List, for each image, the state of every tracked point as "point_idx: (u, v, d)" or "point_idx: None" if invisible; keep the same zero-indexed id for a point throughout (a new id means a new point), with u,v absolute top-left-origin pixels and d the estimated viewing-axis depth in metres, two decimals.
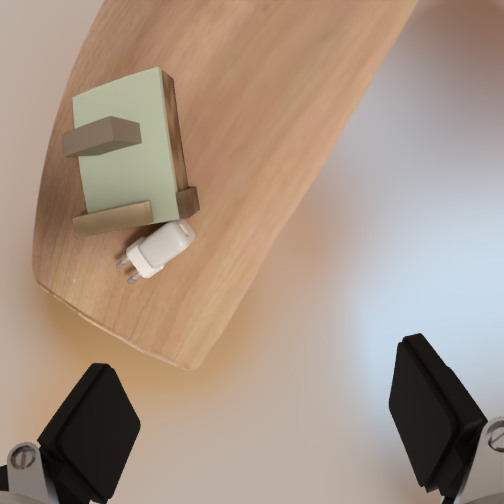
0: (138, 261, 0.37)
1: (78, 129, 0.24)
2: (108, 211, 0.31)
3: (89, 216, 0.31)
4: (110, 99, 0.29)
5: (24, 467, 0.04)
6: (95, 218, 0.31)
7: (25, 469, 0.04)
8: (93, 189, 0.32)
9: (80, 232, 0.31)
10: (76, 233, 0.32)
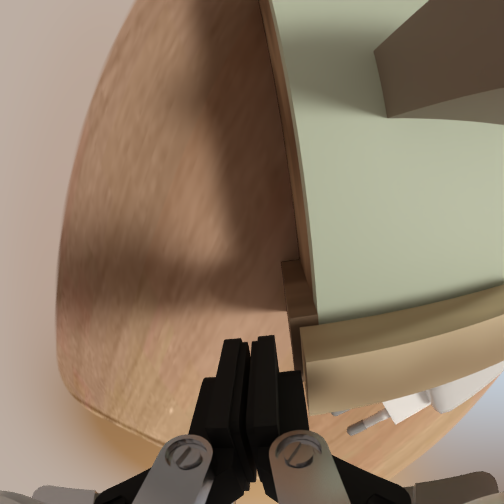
0: (400, 401, 0.14)
1: None
2: (465, 330, 0.08)
3: (394, 352, 0.08)
4: None
5: (180, 466, 0.05)
6: (413, 357, 0.08)
7: (179, 470, 0.05)
8: (358, 240, 0.09)
9: (337, 401, 0.09)
10: (314, 404, 0.09)
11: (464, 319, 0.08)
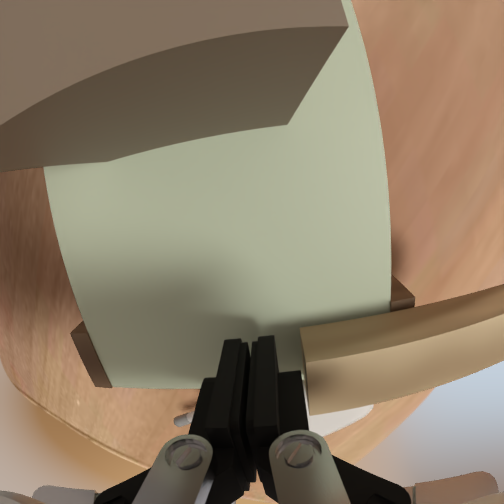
0: None
1: None
2: (465, 330, 0.08)
3: (394, 352, 0.08)
4: None
5: (180, 466, 0.05)
6: (413, 357, 0.08)
7: (179, 470, 0.05)
8: (98, 274, 0.10)
9: (336, 401, 0.09)
10: (315, 404, 0.09)
11: (464, 319, 0.08)
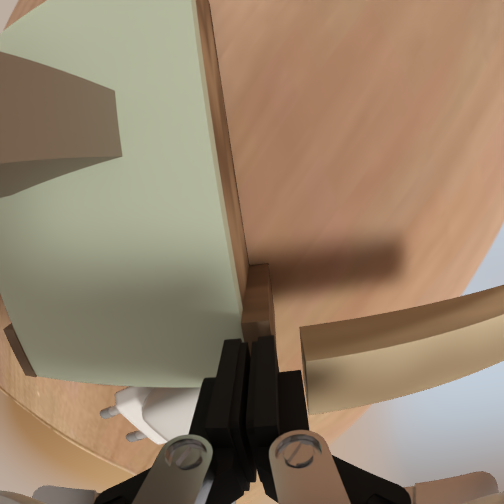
0: (144, 423, 0.15)
1: None
2: (464, 330, 0.08)
3: (393, 351, 0.08)
4: (44, 37, 0.07)
5: (180, 466, 0.05)
6: (412, 356, 0.08)
7: (179, 470, 0.05)
8: (14, 283, 0.11)
9: (336, 400, 0.09)
10: (314, 403, 0.09)
11: (463, 319, 0.08)
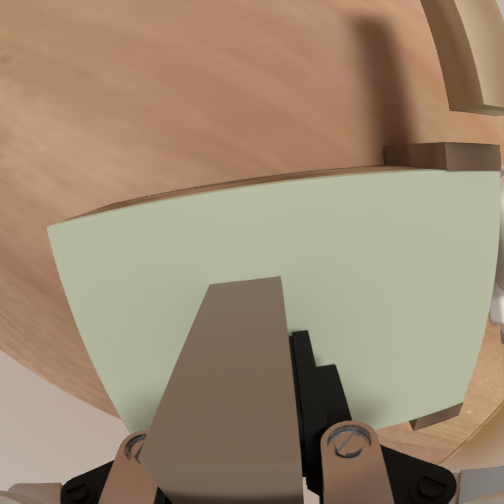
0: None
1: None
2: None
3: (467, 24, 0.05)
4: (136, 365, 0.11)
5: (138, 460, 0.05)
6: (469, 8, 0.05)
7: (139, 463, 0.05)
8: (377, 410, 0.12)
9: None
10: None
11: None
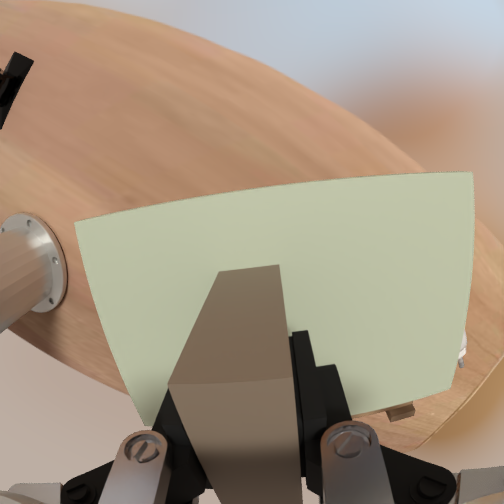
0: None
1: (218, 483, 0.06)
2: None
3: None
4: (150, 348, 0.13)
5: (139, 460, 0.05)
6: None
7: (139, 463, 0.05)
8: (368, 392, 0.13)
9: None
10: None
11: None
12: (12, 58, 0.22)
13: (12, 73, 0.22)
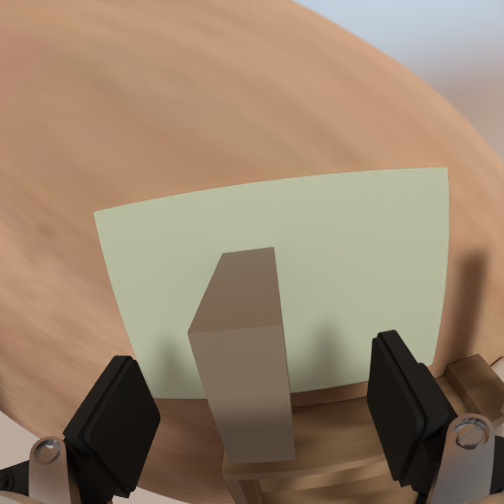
0: None
1: (223, 428, 0.08)
2: None
3: None
4: (161, 322, 0.15)
5: (47, 462, 0.05)
6: None
7: (48, 464, 0.04)
8: (355, 363, 0.16)
9: None
10: None
11: None
12: None
13: None
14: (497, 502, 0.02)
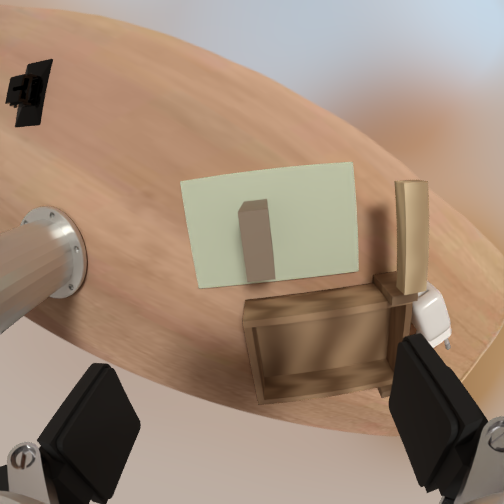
0: (437, 339, 0.31)
1: (246, 257, 0.25)
2: (407, 236, 0.23)
3: (408, 266, 0.24)
4: (210, 237, 0.32)
5: (24, 467, 0.04)
6: (412, 258, 0.24)
7: (25, 469, 0.04)
8: (310, 263, 0.32)
9: (422, 282, 0.24)
10: (421, 289, 0.24)
11: (403, 232, 0.24)
12: (28, 68, 0.26)
13: None
14: (497, 502, 0.02)
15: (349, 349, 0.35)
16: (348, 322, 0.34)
